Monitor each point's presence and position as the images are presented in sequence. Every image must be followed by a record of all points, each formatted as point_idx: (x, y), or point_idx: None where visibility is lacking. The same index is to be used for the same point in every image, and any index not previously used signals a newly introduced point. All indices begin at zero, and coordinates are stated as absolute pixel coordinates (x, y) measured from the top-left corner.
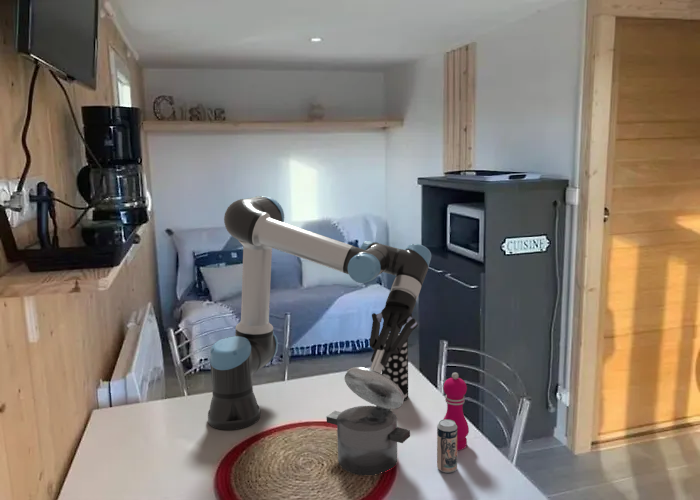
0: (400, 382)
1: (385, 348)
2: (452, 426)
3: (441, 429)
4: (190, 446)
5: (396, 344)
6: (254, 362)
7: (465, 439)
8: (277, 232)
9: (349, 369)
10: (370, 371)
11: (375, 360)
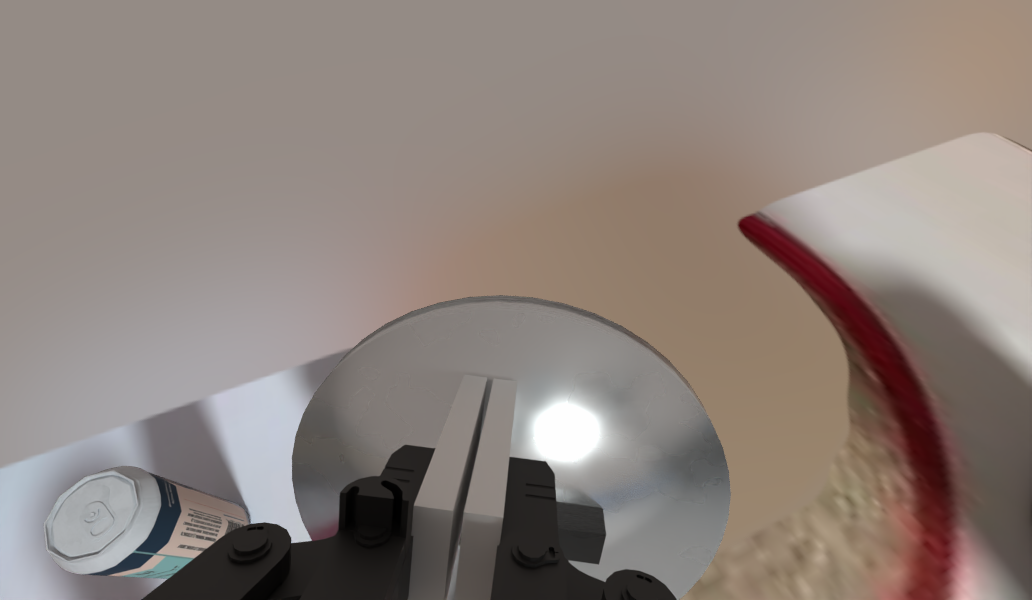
0: None
1: (372, 485)
2: (69, 489)
3: (139, 470)
4: (1018, 342)
5: (179, 592)
6: None
7: None
8: None
9: (680, 380)
10: (475, 305)
11: (489, 435)
